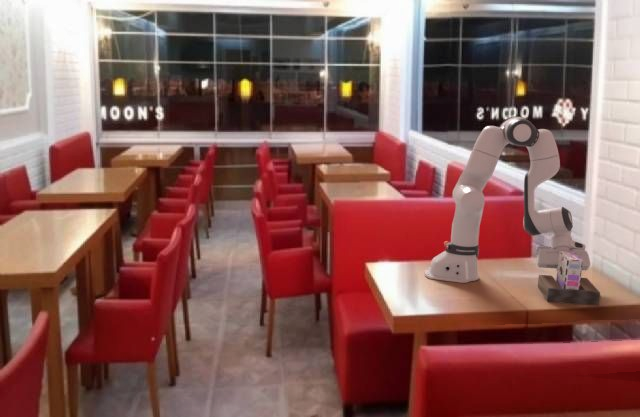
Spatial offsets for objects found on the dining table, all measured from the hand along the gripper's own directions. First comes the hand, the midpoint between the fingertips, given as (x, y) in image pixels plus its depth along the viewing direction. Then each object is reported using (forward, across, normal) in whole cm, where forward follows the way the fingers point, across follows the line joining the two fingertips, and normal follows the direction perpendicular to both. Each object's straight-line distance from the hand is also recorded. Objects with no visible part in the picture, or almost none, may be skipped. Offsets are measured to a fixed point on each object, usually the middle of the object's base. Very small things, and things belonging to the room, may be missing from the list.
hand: (564, 277), depth 268 cm
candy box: (+9, -1, -1) cm, 9 cm away
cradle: (+8, 0, 0) cm, 8 cm away
